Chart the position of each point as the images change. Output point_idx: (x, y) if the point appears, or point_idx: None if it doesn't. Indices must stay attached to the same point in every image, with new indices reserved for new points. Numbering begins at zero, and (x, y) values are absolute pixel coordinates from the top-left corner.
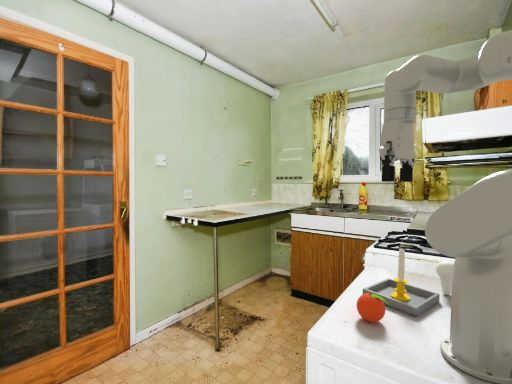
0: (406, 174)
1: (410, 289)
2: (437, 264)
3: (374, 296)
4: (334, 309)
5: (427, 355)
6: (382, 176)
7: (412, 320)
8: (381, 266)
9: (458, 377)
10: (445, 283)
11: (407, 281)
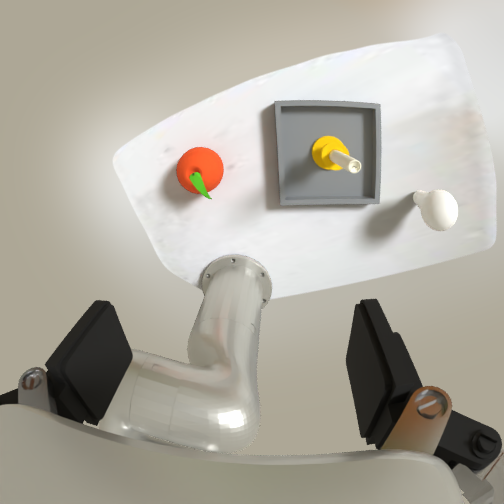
0: (360, 377)
1: (373, 152)
2: (441, 195)
3: (193, 181)
4: (182, 113)
5: (197, 252)
6: (84, 320)
7: (265, 202)
8: (458, 55)
9: (191, 281)
10: (419, 203)
11: (341, 167)
